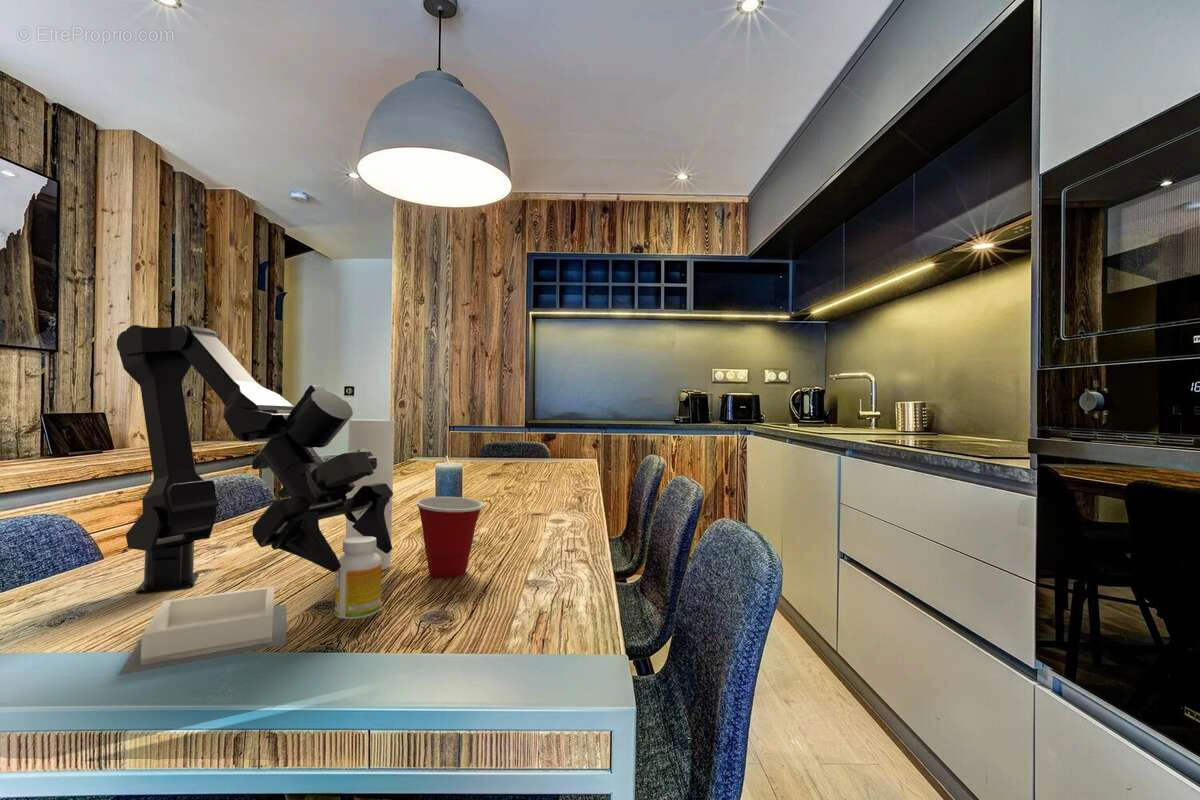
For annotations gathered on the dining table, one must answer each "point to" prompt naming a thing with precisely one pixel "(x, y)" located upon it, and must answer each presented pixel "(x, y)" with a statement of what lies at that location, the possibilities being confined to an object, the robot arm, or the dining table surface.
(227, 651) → the mat
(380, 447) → the cylindrical container
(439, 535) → the plastic cup
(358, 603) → the supplement bottle
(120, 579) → the dining table surface
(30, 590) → the dining table surface
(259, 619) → the dish
